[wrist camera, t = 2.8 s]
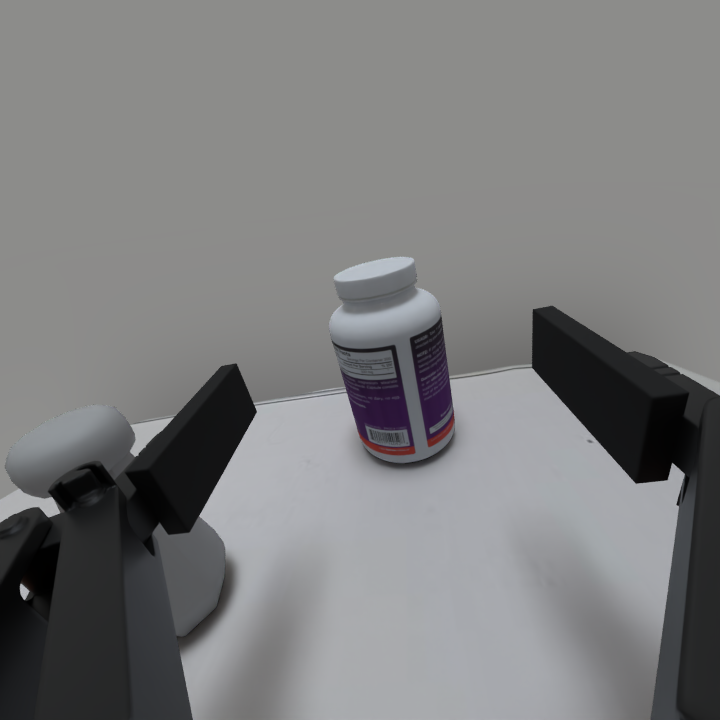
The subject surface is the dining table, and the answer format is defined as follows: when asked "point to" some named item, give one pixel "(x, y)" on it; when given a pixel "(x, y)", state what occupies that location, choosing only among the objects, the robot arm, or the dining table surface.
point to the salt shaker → (112, 447)
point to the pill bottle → (393, 360)
